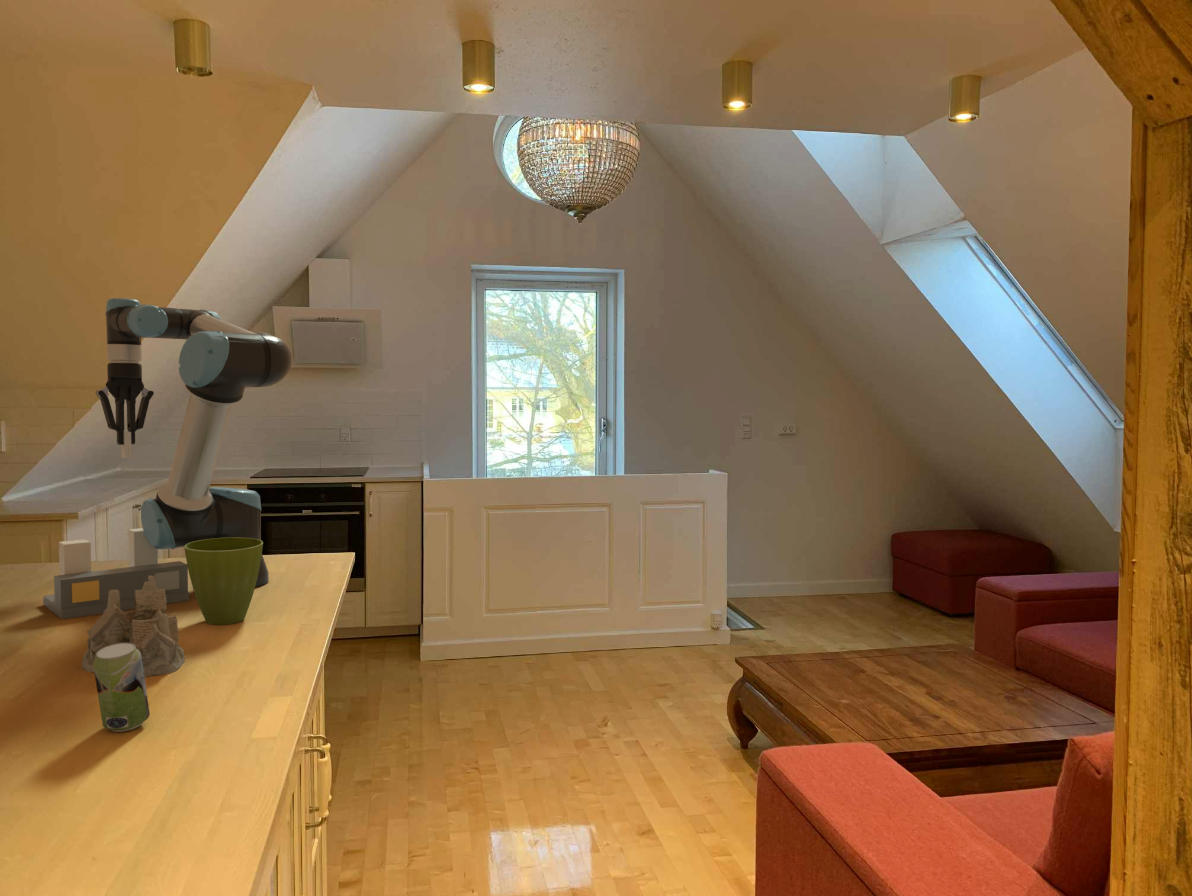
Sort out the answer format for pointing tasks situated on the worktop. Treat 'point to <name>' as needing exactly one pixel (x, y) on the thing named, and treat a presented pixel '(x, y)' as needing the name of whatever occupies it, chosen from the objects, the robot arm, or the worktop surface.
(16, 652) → the worktop surface
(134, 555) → the key
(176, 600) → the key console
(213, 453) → the robot arm
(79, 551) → the key
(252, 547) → the flower pot
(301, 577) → the worktop surface
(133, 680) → the beverage can
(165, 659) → the ceramic cottage
